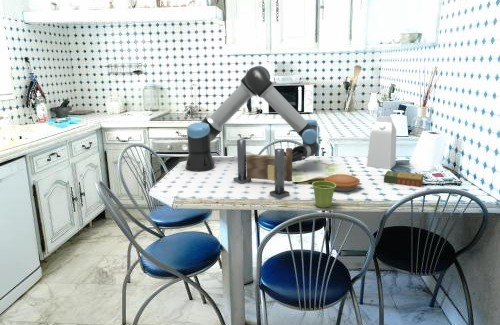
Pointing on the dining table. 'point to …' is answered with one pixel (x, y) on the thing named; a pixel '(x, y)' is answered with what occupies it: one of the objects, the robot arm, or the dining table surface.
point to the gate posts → (273, 171)
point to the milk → (382, 144)
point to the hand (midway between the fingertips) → (277, 162)
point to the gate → (259, 165)
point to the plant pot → (323, 193)
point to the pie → (343, 182)
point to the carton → (403, 178)
